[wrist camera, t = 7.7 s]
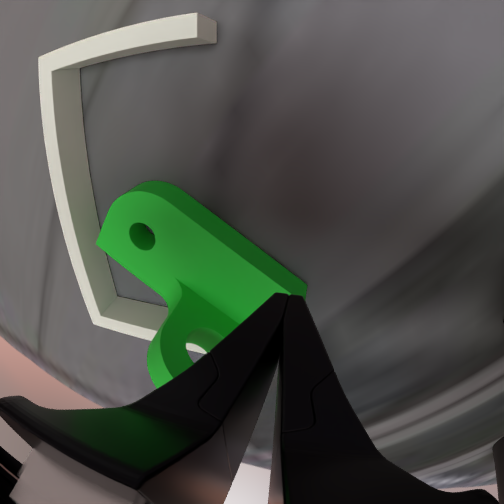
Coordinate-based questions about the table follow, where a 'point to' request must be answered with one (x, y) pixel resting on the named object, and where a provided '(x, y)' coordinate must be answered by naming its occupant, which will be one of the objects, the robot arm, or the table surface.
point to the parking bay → (76, 162)
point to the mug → (499, 468)
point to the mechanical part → (189, 270)
